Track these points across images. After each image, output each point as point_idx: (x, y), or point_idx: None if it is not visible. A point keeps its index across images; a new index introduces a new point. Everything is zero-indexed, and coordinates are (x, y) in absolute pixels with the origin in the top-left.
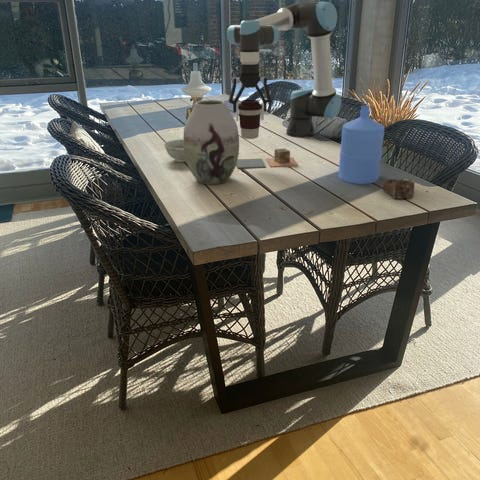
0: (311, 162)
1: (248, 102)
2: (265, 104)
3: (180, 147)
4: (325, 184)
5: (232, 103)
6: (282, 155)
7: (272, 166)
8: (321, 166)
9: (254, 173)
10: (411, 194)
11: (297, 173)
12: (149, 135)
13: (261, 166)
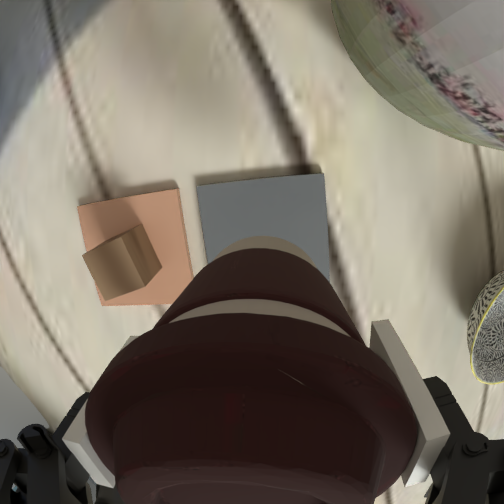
0: (49, 259)
1: (268, 460)
2: (58, 441)
3: (501, 355)
4: (35, 35)
5: (491, 442)
6: (116, 237)
7: (168, 190)
8: (24, 213)
9: (247, 110)
10: None
11: (85, 123)
12: None
13: (214, 183)
